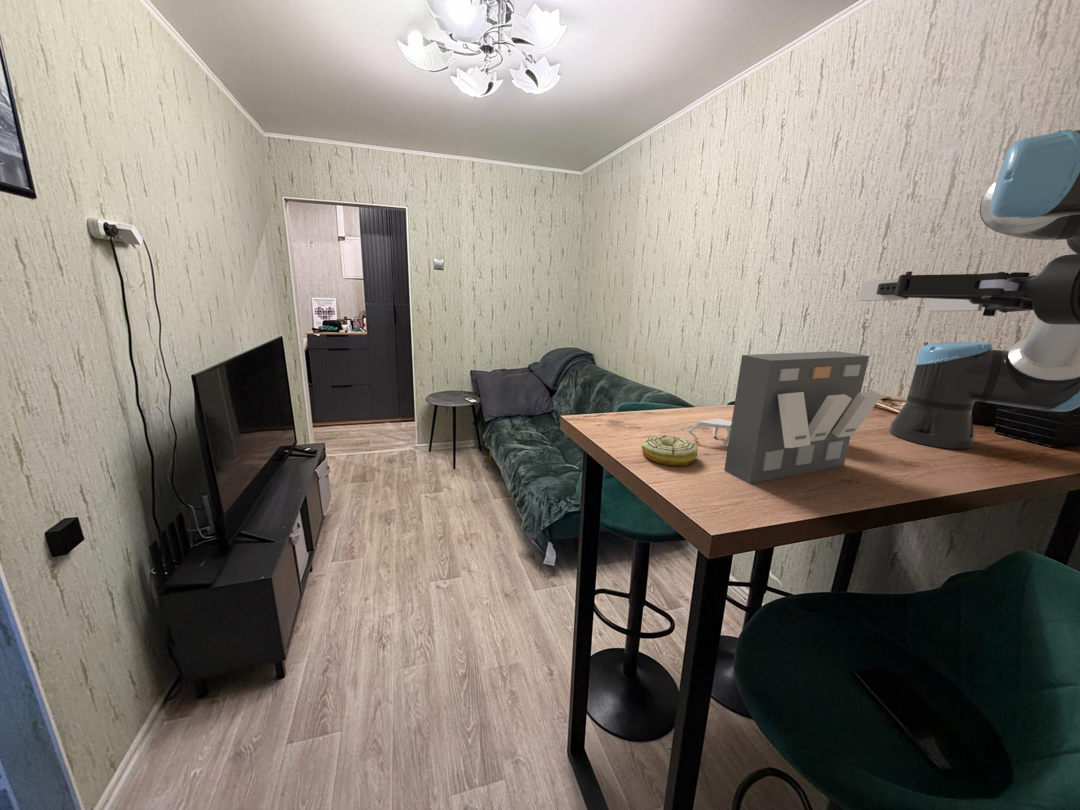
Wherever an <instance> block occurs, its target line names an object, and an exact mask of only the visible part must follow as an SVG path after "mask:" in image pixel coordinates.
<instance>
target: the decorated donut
mask: <svg viewBox="0 0 1080 810" xmlns="http://www.w3.org/2000/svg"><path fill="white" fill-rule="evenodd" d="M640 447H641V450H642V454H643V455H644V456H645V457H646V458H648V459H650V461H652V462H655V463H656V464H657V463H658V464H660V465H665V466H671V467H682V466H687V465H689V464H690V463H692V462H694V461H695V460H696V458H697V457H698V450H699V449H698V446H697V445H696V444H695V443H694V442H692V441H691V440H689V439H685V438H683V437H678V436H672V435H653V436H648V437H646V438H644V439H643V441H642V442H641V444H640Z"/></svg>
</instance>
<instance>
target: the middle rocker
mask: <svg viewBox="0 0 1080 810" xmlns="http://www.w3.org/2000/svg"><path fill="white" fill-rule="evenodd" d="M851 399H852V398H850V397H849V396H847V395H845V394H841V395H830V396H827V397H826V399H825V401H824V402H823V404H822V405H821V407H820V409H819V410H818V412H817V413H816V415H815V416H814V418H813V420H812V421H811V423H810V424H809V426H808V428H809V436H810V442H812V441H818V440H825V438H826V437H827V435H828V434H829V432H830V431H831V429H832V428H833V426H834V425H835V423H836V422H837V420H838V419H839V417H840V416H841V414H842V413H843V411H844V410H845V408H846V407H847V405H848V404H849V402H850V401H851Z"/></svg>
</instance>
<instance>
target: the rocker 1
mask: <svg viewBox="0 0 1080 810" xmlns="http://www.w3.org/2000/svg"><path fill="white" fill-rule="evenodd" d="M778 402H779V409H780V417H781V424H782V432H783V439H784V447H785V448H795V447H801V446H808V445H811V443H810V436H809V428H808V421H807V413H806V406H805V399H804V392H797V393H786V394H778Z"/></svg>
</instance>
